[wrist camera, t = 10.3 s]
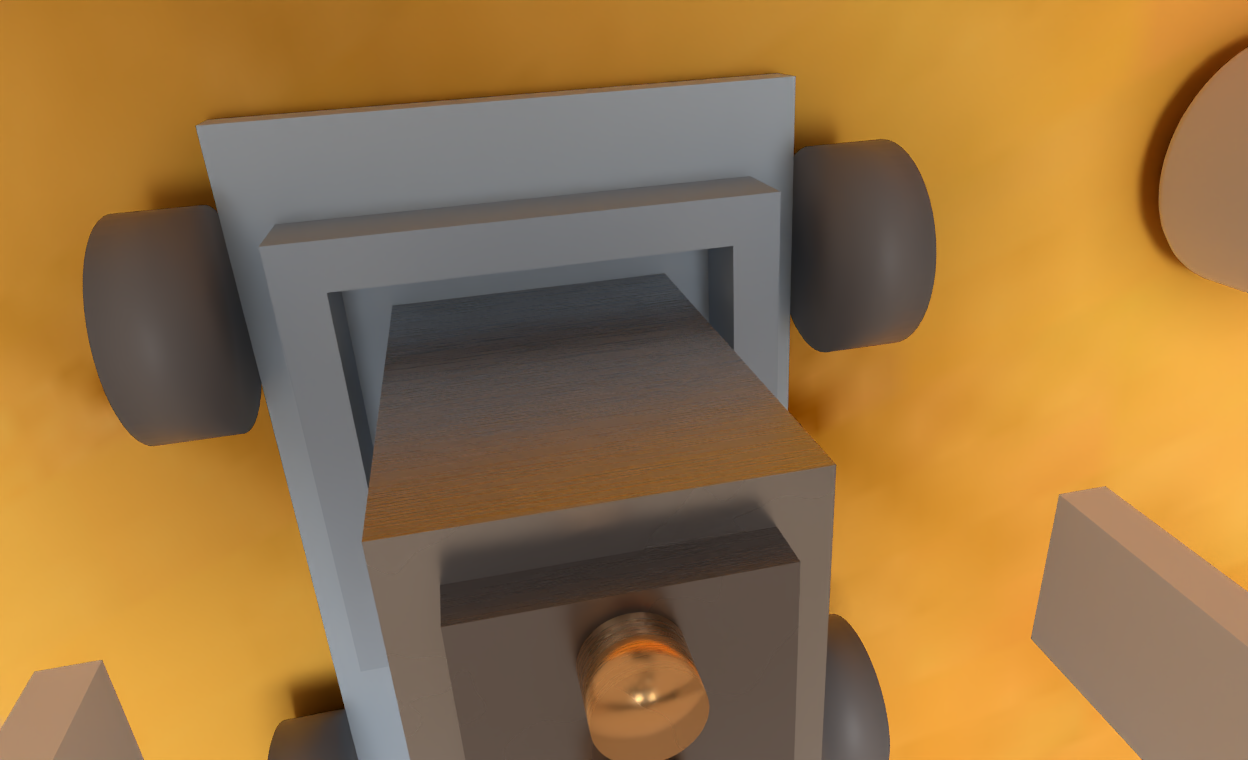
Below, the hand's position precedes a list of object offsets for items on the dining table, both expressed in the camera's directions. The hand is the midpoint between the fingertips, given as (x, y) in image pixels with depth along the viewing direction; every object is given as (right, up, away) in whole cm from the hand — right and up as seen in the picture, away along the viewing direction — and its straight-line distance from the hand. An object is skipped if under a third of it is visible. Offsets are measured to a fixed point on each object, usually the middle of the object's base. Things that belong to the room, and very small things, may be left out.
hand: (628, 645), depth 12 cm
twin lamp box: (-2, +3, +8) cm, 9 cm away
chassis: (-2, +1, +10) cm, 10 cm away
